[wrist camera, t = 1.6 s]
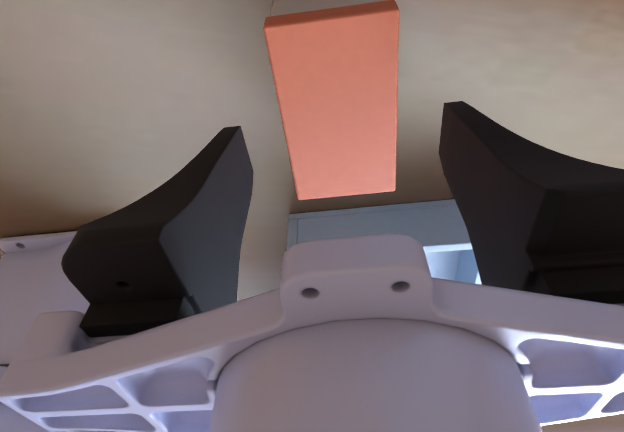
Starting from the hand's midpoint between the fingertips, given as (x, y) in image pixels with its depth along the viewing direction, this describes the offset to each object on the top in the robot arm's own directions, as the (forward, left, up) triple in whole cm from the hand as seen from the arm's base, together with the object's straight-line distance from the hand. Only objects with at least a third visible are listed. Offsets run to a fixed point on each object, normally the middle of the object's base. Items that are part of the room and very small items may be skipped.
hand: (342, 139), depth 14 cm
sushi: (0, 0, -6) cm, 6 cm away
